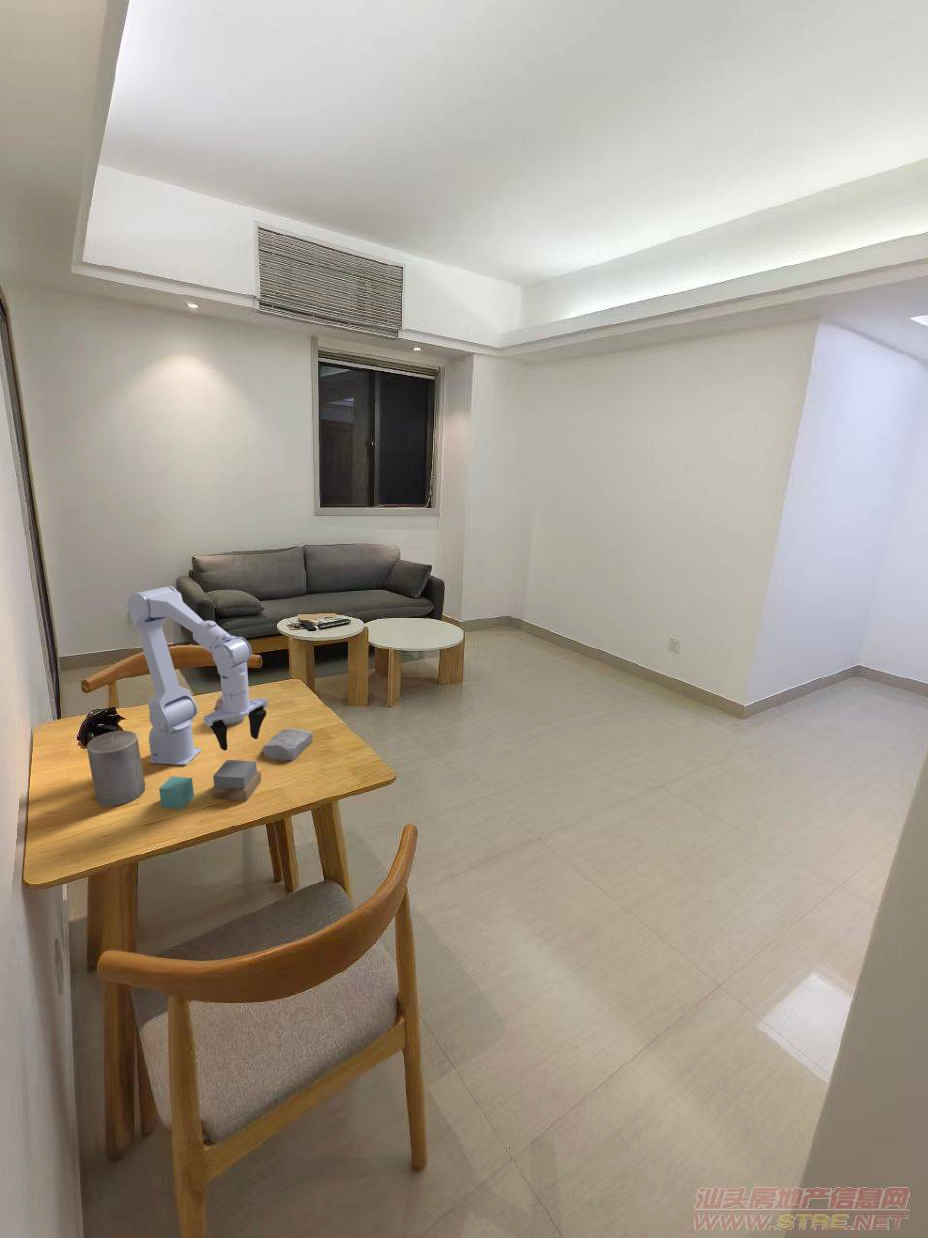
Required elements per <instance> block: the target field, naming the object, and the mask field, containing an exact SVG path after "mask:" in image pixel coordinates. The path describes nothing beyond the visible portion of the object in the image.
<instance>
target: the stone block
mask: <svg viewBox="0 0 928 1238" xmlns="http://www.w3.org/2000/svg"><path fill="white" fill-rule="evenodd" d="M313 740H314V737H313V732H312V731H308V730H304V729H301V728H286V729H283V730H280V731H279V732H278V733H277V734H275V735H274V736H272V738H271V739H270V740H268V742H266V743H265V744H264V745H263V748H262V752H263V755H264V757H265V758H268V759H272V760H283V761H294V760H296V759H297V758H298V756H300V754H302V752H304V751H305V749H306V748H307V747H309V745H311V744H312V742H313Z"/></svg>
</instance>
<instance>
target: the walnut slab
mask: <svg viewBox="0 0 928 1238" xmlns="http://www.w3.org/2000/svg"><path fill="white" fill-rule="evenodd" d="M261 782H262V773H261V771H257V773H256V774H255V776H254V777H253V778H252V780H251V781H250V783H249V784H248V785H247V787H246V788H245V789H233V788H214V785H213V786H212V788H211V795H212V799H216V800H218V799H219V800H229V801H230V800H233V801H243V802H244V801H245V802H247V801H248V800H249V799H250V798H251V796H252V794H253V793H254V792H255V790H256V789H257V788H258V786H260V784H261Z"/></svg>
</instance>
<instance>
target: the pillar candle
mask: <svg viewBox="0 0 928 1238" xmlns="http://www.w3.org/2000/svg"><path fill="white" fill-rule="evenodd" d="M86 750H87V756H88V763H89V767H90V773H91V777H92V783H93V790H94V796H95V800H96V803H98V805H100V806H102V807H117V806H120V805H123V804H126V803H129V802H132V801H134V800H136V799H138V798H140V797H141V796H142V795H143V794H144V792H145V790H146V787H145V786H146V782H145V777H144V769H143V763H142V758H141V752H140V751H141V750H140V745H139V737H138V735H137V733H136V732H134V731H131V730H114V731H110V732H106V733H102V734H100V735H97V736H96V737H93V738H92V739H91V740H89V741H88V742H87V744H86Z"/></svg>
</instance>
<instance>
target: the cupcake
mask: <svg viewBox="0 0 928 1238" xmlns="http://www.w3.org/2000/svg"><path fill="white" fill-rule="evenodd" d="M222 707H223V699H222V694H221V695H220V697H219V698H217V700H216V701H215V705H214V708H213V710H214V712H215V711H216V710H218V709H220V708H222ZM244 719H245V716H243V717H240V716H236V717H232V718H229V719H226V720H223V722H224V725H226V726H235V725H239V724H240V723H242V722H243V721H244Z"/></svg>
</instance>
